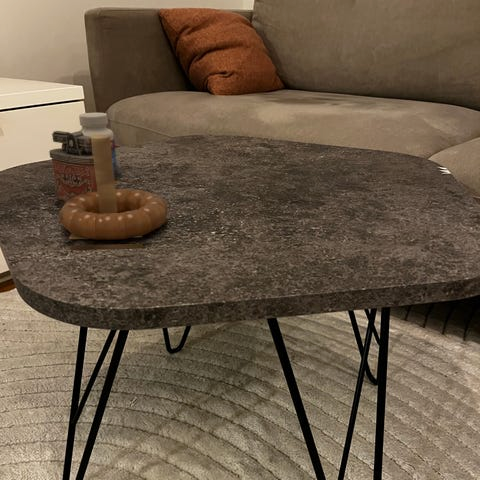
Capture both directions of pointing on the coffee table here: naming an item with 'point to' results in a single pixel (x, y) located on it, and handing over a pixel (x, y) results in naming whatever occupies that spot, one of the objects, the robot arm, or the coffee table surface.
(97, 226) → the ring
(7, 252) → the coffee table surface
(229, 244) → the coffee table surface
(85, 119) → the pill bottle
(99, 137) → the paper towel holder
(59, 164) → the lighter
